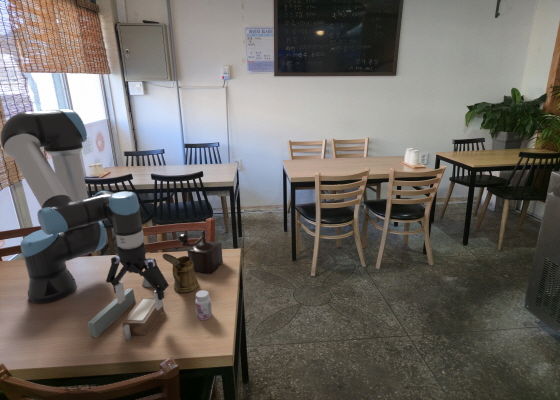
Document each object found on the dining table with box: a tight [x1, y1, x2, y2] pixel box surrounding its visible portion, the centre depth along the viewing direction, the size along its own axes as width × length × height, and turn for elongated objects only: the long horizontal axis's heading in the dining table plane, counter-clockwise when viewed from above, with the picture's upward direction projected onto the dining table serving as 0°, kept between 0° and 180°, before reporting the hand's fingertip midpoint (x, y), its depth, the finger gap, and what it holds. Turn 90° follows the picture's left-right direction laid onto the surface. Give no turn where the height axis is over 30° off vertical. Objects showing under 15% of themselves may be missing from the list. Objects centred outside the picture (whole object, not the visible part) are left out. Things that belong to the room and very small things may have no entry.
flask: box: [141, 257, 154, 288], centre depth 133 cm, size 7×7×10 cm
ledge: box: [87, 287, 155, 341], centre depth 113 cm, size 13×19×5 cm
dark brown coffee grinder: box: [177, 229, 224, 275], centre depth 140 cm, size 16×11×18 cm
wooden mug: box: [161, 253, 199, 294], centre depth 127 cm, size 9×14×18 cm, turn 160°
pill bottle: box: [195, 290, 213, 321], centre depth 113 cm, size 5×5×8 cm
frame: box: [121, 297, 164, 338], centre depth 111 cm, size 7×13×5 cm, turn 175°
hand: (140, 304), depth 111 cm, fingers open, 13 cm apart
